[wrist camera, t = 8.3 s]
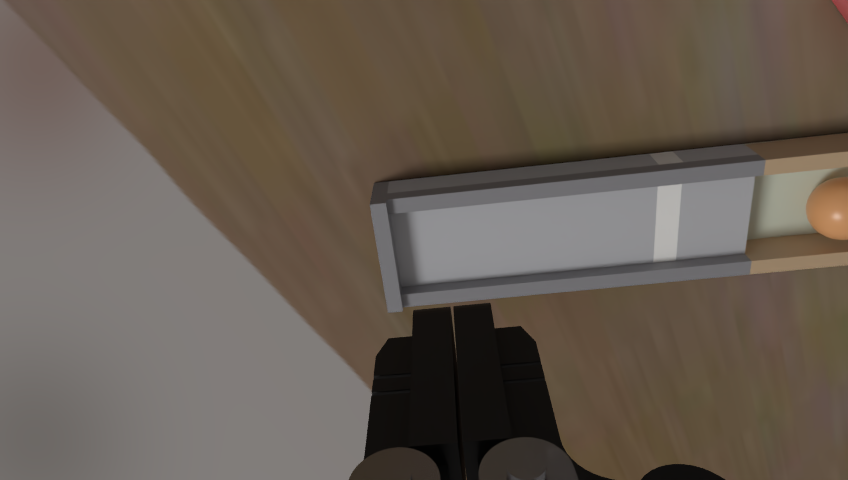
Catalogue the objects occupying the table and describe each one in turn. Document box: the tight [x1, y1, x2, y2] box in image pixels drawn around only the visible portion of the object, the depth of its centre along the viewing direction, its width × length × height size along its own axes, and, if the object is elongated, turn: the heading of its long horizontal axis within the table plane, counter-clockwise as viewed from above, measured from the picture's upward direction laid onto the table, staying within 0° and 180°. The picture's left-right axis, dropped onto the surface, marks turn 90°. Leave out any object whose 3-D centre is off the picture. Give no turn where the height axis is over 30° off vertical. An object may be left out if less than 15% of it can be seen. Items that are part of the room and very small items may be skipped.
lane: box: [370, 133, 848, 313], centre depth 41 cm, size 8×34×4 cm, turn 97°
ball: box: [806, 177, 848, 240], centre depth 40 cm, size 4×4×4 cm
